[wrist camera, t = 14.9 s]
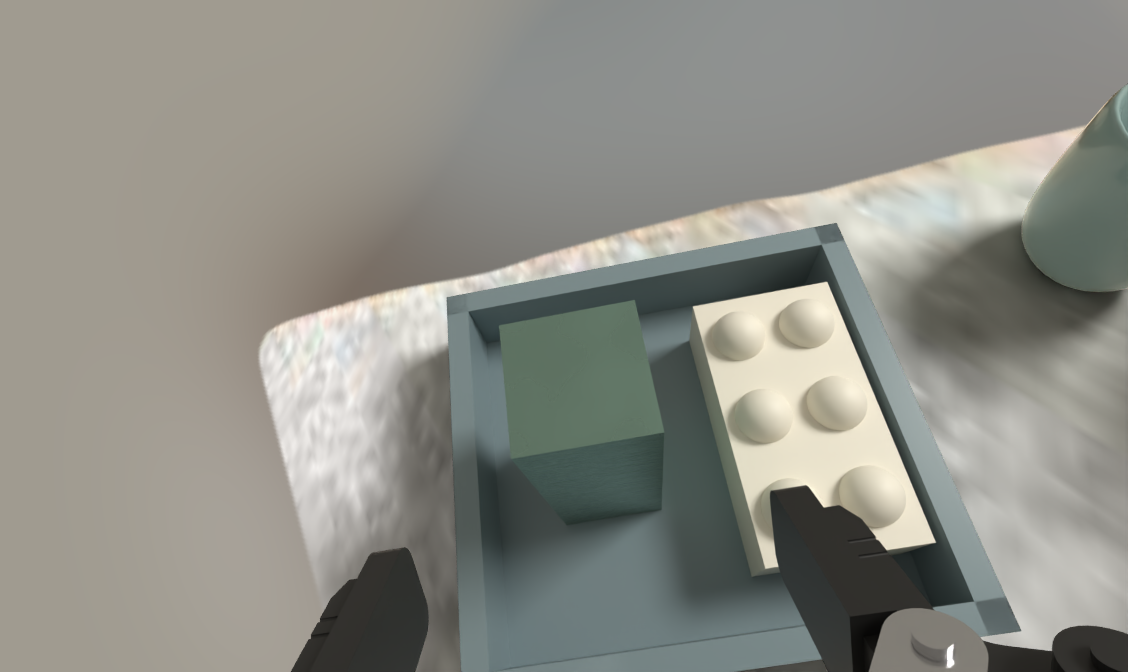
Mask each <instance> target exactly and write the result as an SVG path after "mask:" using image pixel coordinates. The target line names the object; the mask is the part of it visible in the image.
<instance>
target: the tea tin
mask: <svg viewBox="0 0 1128 672" xmlns="http://www.w3.org/2000/svg"><path fill="white" fill-rule="evenodd" d="M499 331H500V342H501V353H502V364H503V375H504V386H505V398H506V409H507V420H508V431H509V442H510V454H511V460H512V461H513V462H514V463H515V464H516V465H517V467H518V468H519V469H520V470H521V471H522V473H523V474H524V475H525V476H526V477H527V479H528V480H529V481H530V482H531V483H532V485H533V486H534V487H535V488H536V489H537V491H538V492H539V493H540V494H541V495H542V497H543V498H544V499H545V500H546V501H547V502H548V504H549V505H550V506H551V507H552V508H553V510H554V511H555V512H556V513H557V514H558V516H559V517H560V518H561V519H562V520H563V522H564V523H565V524H566V525H572V524H578V523H584V522H590V521H596V520H602V519H608V518H615V517H621V516H627V515H633V514H639V513H645V512H651V511H657V510H662V486H663V458H664V428H663V424H662V419H661V415H660V410H659V406H658V402H657V397H656V393H655V388H654V384H653V379H652V375H651V370H650V366H649V361H648V357H647V352H646V348H645V344H644V339H643V335H642V330H641V326H640V321H639V317H638V312H637V308H636V303H635V300H632V301H626V302H621V303H616V304H610V305H605V306H600V307H594V308H589V309H584V310H579V311H573V312H568V313H563V314H557V315H552V316H547V317H541V318H536V319H531V320H525V321H520V322H515V323H509V324H504V325H499Z"/></svg>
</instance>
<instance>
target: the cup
mask: <svg viewBox="0 0 1128 672" xmlns="http://www.w3.org/2000/svg"><path fill="white" fill-rule="evenodd" d="M1021 233H1022V242H1023V245H1024V248H1025V250H1026V252H1027V254H1028V256H1029V257H1030V259H1031V261H1032V262H1033V263H1034V264H1035V266H1036V267H1037V268H1038V269H1039V270H1040V271H1041V272H1042V273H1044V274H1045V275H1046V276H1047V277H1049V278H1050V279H1052V280H1053V281H1055V282H1057V283H1059V284H1061V285H1063V286H1066V287H1069V288H1073V289H1076V290H1081V291H1089V292H1111V291H1119V290H1126V289H1128V84H1126V85H1125V86H1124V87H1123V88H1121V89H1120V90H1119V91H1118V92H1116V93H1115V94H1114V95H1113V96H1112V97H1111V98H1110V99H1109V100H1108V101H1107V102H1106V104H1105V105H1104V106H1103V107H1102V108H1101V109H1100V110H1099V111H1098V113H1097V114H1096V115H1095V116H1094V117H1093V118H1092V120H1091V121H1090V122H1089V123H1088V124H1087V125H1086V127H1085V128H1084V129H1083V130H1082V131H1081V133H1080V134H1079V135H1078V136H1077V137H1076V138H1075V140H1074V141H1073V142H1072V143H1071V145H1070V146H1069V147H1068V148H1067V149H1066V151H1065V152H1064V153H1063V154H1062V156H1061V157H1060V158H1059V159H1058V161H1057V162H1056V163H1055V165H1054V166H1053V167H1052V169H1051V170H1050V171H1049V173H1048V174H1047V175H1046V177H1045V178H1044V180H1043V181H1042V183H1041V184H1040V186H1039V187H1038V188H1037V190H1036V191H1035V193H1034V195H1033V196H1032V198H1031V200H1030V201H1029V203H1028V206H1027V208H1026V210H1025V213H1024V217H1023V221H1022V225H1021Z"/></svg>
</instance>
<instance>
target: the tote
mask: <svg viewBox="0 0 1128 672" xmlns="http://www.w3.org/2000/svg"><path fill="white" fill-rule="evenodd" d="M823 282H827V283H828V285H829V287H830V290H831V292H832V295H833V297H834V299H835V302H836V304H837V307H838V309H839V311H840V314H841V316H842V319H843V321H844V323H845V326H846V328H847V331H848V333H849V335H850V338H851V340H852V343H853V345H854V347H855V350H856V352H857V355H858V357H859V359H860V362H861V364H862V367H863V369H864V371H865V374H866V376H867V379H868V381H869V383H870V386H871V388H872V391H873V393H874V395H875V398H876V400H877V403H878V405H879V407H880V410H881V412H882V414H883V417H884V419H885V422H886V424H887V426H888V429H889V431H890V434H891V436H892V438H893V441H894V443H895V446H896V448H897V450H898V453H899V455H900V458H901V460H902V462H903V465H904V467H905V470H906V472H907V474H908V477H909V479H910V482H911V484H912V486H913V489H914V491H915V494H916V496H917V498H918V501H919V503H920V506H921V508H922V510H923V513H924V515H925V518H926V520H927V522H928V525H929V527H930V530H931V532H932V534H933V537H934V539H935V542H936V543H933V544H930V545H927V546H924V547H921V548H918V549H915V550H911V551H908V552H905V553H902V554H898V555H892V557H893V559H894V560H895V561H896V562H897V564H898V565H899V566H900V567H901V569H902V570H903V571H904V572H905V574H906V575H907V576H908V577H909V579H910V580H911V581H912V582H913V584H914V585H915V586H916V587H917V589H918V590H919V591H920V593H921V594H922V595H923V596H924V598H925V599H926V600H927V601H928V603H929V604H930V605H931V606H932V608H933V609H934V610H935V611H939V612H942V613H945V614H948V615H950V616H952V617H954V618H956V619H958V620H960V621H962V622H963V623H965V624H966V625H967V626H969V627H970V628H971V629H973V630H974V631H975V632H976V633H977V634H978V635H979V637H983V636H990V635H997V634H1004V633H1011V632H1018V631H1021V629H1020V627H1019V625H1018V623H1017V620H1016V618H1015V616H1014V614H1013V612H1012V609H1011V607H1010V605H1009V603H1008V601H1007V598H1006V596H1005V594H1004V592H1003V589H1002V587H1001V585H1000V583H999V581H998V578H997V576H996V574H995V572H994V570H993V567H992V565H991V563H990V561H989V559H988V556H987V554H986V552H985V550H984V548H983V545H982V543H981V541H980V539H979V536H978V534H977V532H976V530H975V528H974V525H973V523H972V521H971V519H970V517H969V514H968V512H967V510H966V508H965V506H964V503H963V501H962V499H961V497H960V495H959V492H958V490H957V488H956V486H955V483H954V481H953V479H952V477H951V475H950V472H949V470H948V468H947V466H946V464H945V461H944V459H943V457H942V455H941V453H940V450H939V448H938V446H937V444H936V442H935V439H934V437H933V435H932V433H931V430H930V428H929V426H928V424H927V422H926V419H925V417H924V415H923V413H922V411H921V408H920V406H919V404H918V402H917V400H916V397H915V395H914V393H913V391H912V389H911V386H910V384H909V382H908V380H907V377H906V375H905V373H904V371H903V369H902V366H901V364H900V362H899V360H898V358H897V355H896V353H895V351H894V349H893V347H892V344H891V342H890V340H889V338H888V336H887V333H886V331H885V329H884V327H883V324H882V322H881V320H880V318H879V316H878V313H877V311H876V309H875V307H874V305H873V302H872V300H871V298H870V296H869V294H868V291H867V289H866V287H865V285H864V283H863V280H862V278H861V276H860V274H859V272H858V269H857V267H856V265H855V263H854V260H853V258H852V256H851V254H850V252H849V249H848V247H847V245H846V243H845V241H844V238H843V236H842V234H841V232H840V230H839V227H838V225H837V223H834V224H828V225H823V226H818V227H813V228H807V229H802V230H797V231H792V232H787V233H781V234H776V235H771V236H766V237H760V238H755V239H750V240H745V241H739V242H734V243H729V244H724V245H718V246H713V247H708V248H703V249H698V250H692V251H687V252H682V253H677V254H671V255H666V256H661V257H656V258H650V259H645V260H640V261H635V262H629V263H624V264H619V265H614V266H609V267H603V268H598V269H593V270H588V271H582V272H577V273H572V274H567V275H561V276H556V277H551V278H546V279H541V280H535V281H530V282H525V283H520V284H514V285H509V286H504V287H499V288H493V289H488V290H483V291H478V292H472V293H467V294H462V295H457V296H452V297H447V319H448V345H449V371H450V397H451V424H452V450H453V476H454V502H455V528H456V554H457V580H458V606H459V632H460V658H461V672H736V671H743V670H750V669H758V668H765V667H772V666H779V665H786V664H793V663H800V662H807V661H814V660H821V659H822V658H821V656H820V654H819V652H818V650H817V648H816V646H815V644H814V642H813V640H812V638H811V636H810V634H809V632H808V630H807V628H806V626H805V624H804V622H803V620H802V618H801V616H800V613H799V611H798V609H797V607H796V605H795V603H794V601H793V599H792V597H791V595H790V593H789V591H788V589H787V587H786V585H785V583H784V581H783V579H782V576H781V573H774V574H767V575H761V576H754V577H752V576H751V572H750V569H749V565H748V561H747V557H746V553H745V550H744V546H743V542H742V538H741V535H740V531H739V527H738V523H737V519H736V516H735V512H734V508H733V504H732V501H731V497H730V493H729V489H728V485H727V482H726V478H725V474H724V470H723V466H722V463H721V459H720V455H719V451H718V448H717V444H716V440H715V436H714V432H713V429H712V425H711V421H710V417H709V414H708V410H707V406H706V402H705V398H704V395H703V391H702V387H701V383H700V380H699V376H698V372H697V368H696V364H695V361H694V357H693V353H692V349H691V346H690V342H689V338H690V328H691V319H692V310H693V306H699V305H704V304H709V303H715V302H720V301H726V300H731V299H737V298H742V297H747V296H753V295H758V294H764V293H769V292H774V291H780V290H785V289H791V288H796V287H802V286H807V285H812V284H818V283H823ZM632 300H635V303H636V308H637V312H638V317H639V321H640V326H641V330H642V335H643V339H644V344H645V348H646V352H647V357H648V361H649V366H650V370H651V375H652V379H653V384H654V388H655V393H656V397H657V402H658V406H659V410H660V415H661V419H662V424H663V428H664V458H663V486H662V510H657V511H651V512H645V513H639V514H633V515H627V516H621V517H615V518H608V519H602V520H596V521H590V522H584V523H578V524H572V525H566V524H565V523H564V522H563V520H562V519H561V518H560V517H559V516H558V514H557V513H556V512H555V511H554V510H553V508H552V507H551V506H550V505H549V504H548V502H547V501H546V500H545V499H544V498H543V497H542V495H541V494H540V493H539V492H538V491H537V489H536V488H535V487H534V486H533V485H532V483H531V482H530V481H529V480H528V479H527V477H526V476H525V475H524V474H523V473H522V471H521V470H520V469H519V468H518V467H517V465H516V464H515V463H514V462H513V461H512V460H511V454H510V442H509V431H508V420H507V409H506V398H505V386H504V375H503V364H502V353H501V342H500V331H499V325H504V324H509V323H515V322H520V321H525V320H531V319H536V318H541V317H547V316H552V315H557V314H563V313H568V312H573V311H579V310H584V309H589V308H594V307H600V306H605V305H610V304H616V303H621V302H626V301H632Z"/></svg>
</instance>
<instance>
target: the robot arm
mask: <svg viewBox="0 0 1128 672" xmlns="http://www.w3.org/2000/svg"><path fill="white" fill-rule="evenodd" d="M770 507H771V516H772V526H773V536H774V545H775V554H776V559H777V563H778V567H779V570H780V573H781V576H782V579H783V581H784V583H785V585H786V587H787V589H788V591H789V593H790V595H791V597H792V599H793V601H794V603H795V605H796V607H797V609H798V611H799V613H800V616H801V618H802V620H803V622H804V624H805V626H806V628H807V630H808V632H809V634H810V636H811V638H812V640H813V642H814V644H815V646H816V648H817V650H818V652H819V654H820V656H821V658H822V660H823V662H824V664H825V666H826V668H827V670H828V672H1128V634H1126V633H1123V632H1120V631H1116V630H1112V629H1109V628H1103V627H1097V626H1075V627H1070V628H1067V629H1064V630H1062V631H1061V632H1059V633H1058V634H1057V635H1056V636H1055V638H1054V640H1053V644H1052V651H1045V650H1036V649H1028V648H1020V647H1011V646H1004V645H998V644H993V643H989V642H986V641H983V640H982V639H981V638H980V637H979V635H978V634H977V633H976V632H975V631H974V630H973V629H971V628H970V627H969V626H967V625H966V624H965V623H963V622H962V621H960V620H958V619H956V618H954V617H952V616H950V615H948V614H945V613H942V612H939V611H935V610H934V609H933V608H932V606H931V605H930V604H929V603H928V601H927V600H926V599H925V598H924V596H923V595H922V594H921V593H920V591H919V590H918V589H917V587H916V586H915V585H914V584H913V582H912V581H911V580H910V579H909V577H908V576H907V575H906V574H905V572H904V571H903V570H902V569H901V567H900V566H899V565H898V564H897V562H896V561H895V560H894V559H893V557H892V556H891V555H888V552H887V550H886V549H885V547H884V546H883V545H882V544H881V542H880V541H879V540H877V539H876V536H875V535H874V534H873V532H872V531H871V530H870V529H869V527H868V526H867V525H866V524H865V522H864V521H863V520H862V519H861V518H860V517H858V516H856V515H855V514H853V513H851V512H850V511H848V510H847V509H845V508H843V507H842V506H840V505H836V506H830V507H823V506H822V504H821V503H820V502H819V500H818V499H817V497H816V496H815V495H814V493H813V492H812V491H811V489H810V488H809V487H808V486H807V485H803V486H797V487H790V488H784V489H778V490H771V491H770ZM427 630H428V607H427V602H426V599H425V596H424V593H423V590H422V587H421V584H420V580H419V577H418V574H417V571H416V568H415V565H414V562H413V559H412V556H411V553H410V551H409V550H408V549H407V548H399V549H392V550H386V551H380V552H373V553H371V554H370V555H369V557H368V559H367V561H366V563H365V565H364V567H363V569H362V571H361V573H360V574H359V576H358V578H357V579H353V580H349V581H348V582H347V583H346V584H345V585H344V586H343V587H342V588H341V589H340V590H339V591H338V592H337V593H336V594H335V595H334V596H333V597H332V598H331V599H330V601H329V603H328V605H327V607H326V609H325V610H324V612H323V614H322V616H321V618H320V622H319V623H317V625H316V627H315V629H314V631H313V632H312V634H311V639H309V640H308V642H307V643H306V645H305V647H304V649H303V650H302V652H301V654H300V656H299V658H298V660H297V661H296V663H295V665H294V667H293V669H292V671H291V672H415V671H416V667H417V664H418V661H419V658H420V654H421V651H422V648H423V645H424V641H425V638H426V635H427Z"/></svg>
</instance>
